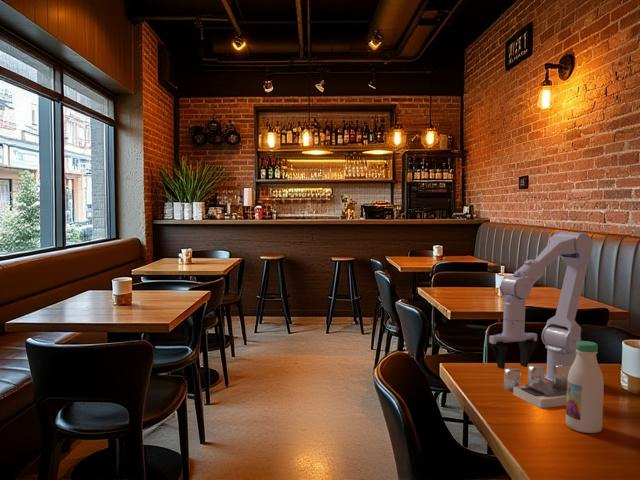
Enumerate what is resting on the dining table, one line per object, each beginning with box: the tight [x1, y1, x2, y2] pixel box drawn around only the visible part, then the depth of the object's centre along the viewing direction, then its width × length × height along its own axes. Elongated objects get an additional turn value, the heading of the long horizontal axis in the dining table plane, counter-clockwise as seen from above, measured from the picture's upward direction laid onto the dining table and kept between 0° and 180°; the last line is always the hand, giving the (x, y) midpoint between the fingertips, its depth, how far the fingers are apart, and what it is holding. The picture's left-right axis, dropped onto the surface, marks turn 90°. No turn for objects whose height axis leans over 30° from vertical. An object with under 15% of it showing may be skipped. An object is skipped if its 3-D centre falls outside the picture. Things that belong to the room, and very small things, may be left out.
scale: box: [512, 385, 567, 409], centre depth 152 cm, size 14×11×2 cm
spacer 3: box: [553, 364, 571, 389], centre depth 153 cm, size 4×4×6 cm
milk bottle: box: [565, 340, 605, 434], centre depth 132 cm, size 8×8×20 cm
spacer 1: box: [503, 366, 522, 392], centre depth 160 cm, size 4×4×6 cm
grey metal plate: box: [525, 381, 567, 396], centre depth 152 cm, size 11×8×1 cm
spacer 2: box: [527, 364, 546, 384], centre depth 163 cm, size 4×4×6 cm
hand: (512, 367), depth 160 cm, fingers open, 7 cm apart
